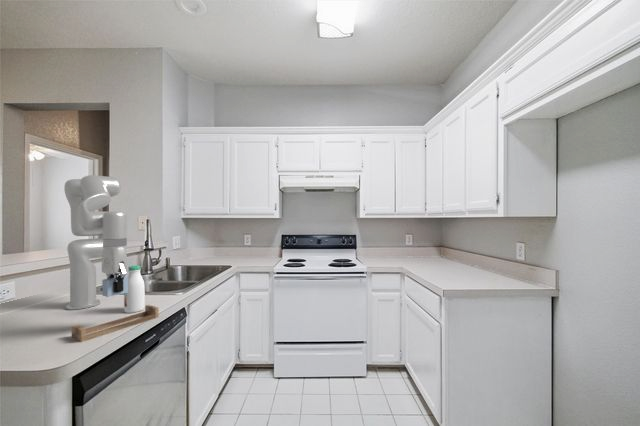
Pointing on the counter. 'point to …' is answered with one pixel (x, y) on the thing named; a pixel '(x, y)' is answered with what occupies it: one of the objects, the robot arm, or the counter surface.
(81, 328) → the bottom track
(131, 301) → the milk bottle
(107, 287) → the pale blue upright box
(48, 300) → the counter surface
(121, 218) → the robot arm
